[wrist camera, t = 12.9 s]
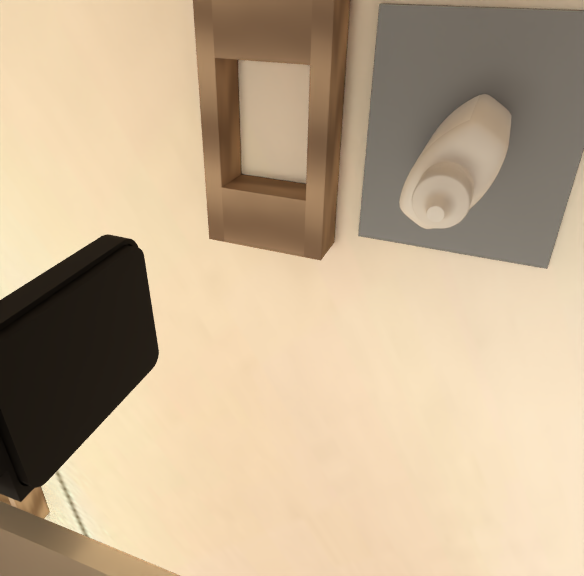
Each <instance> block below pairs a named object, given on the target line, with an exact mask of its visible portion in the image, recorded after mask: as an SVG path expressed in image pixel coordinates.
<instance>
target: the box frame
mask: <svg viewBox="0 0 584 576" xmlns="http://www.w3.org/2000/svg"><path fill="white" fill-rule="evenodd" d="M0 501H1V502H4V503H6V504H9V505H11V506H14V507H16V508H18V509H21V510H23V511H26V512H28V513H31V514H33V515H35V516H38V517H40V518H43V519H44V518H45V517H46V516H47V515H48V513H49V509H48V506H47V504H46V501H45V498H44V495H43V492H42V489H41V486H40V487H37V488H34V489H33V490H32V491H31V492H30V493H29V494H28V495H27V496H26V497H25V499H24V500H23V501H22V502H19V501H17V500H14V499H12V498H9V497H7V496H4V495H2V494H0Z"/></svg>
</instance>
